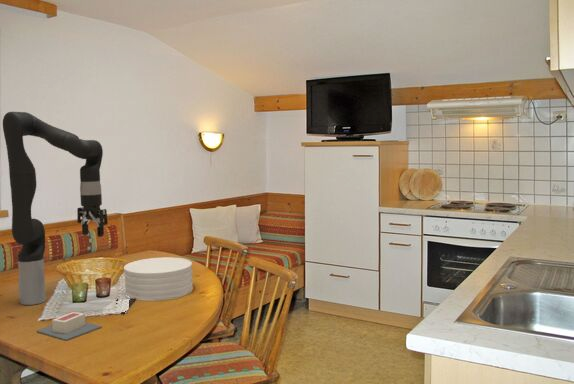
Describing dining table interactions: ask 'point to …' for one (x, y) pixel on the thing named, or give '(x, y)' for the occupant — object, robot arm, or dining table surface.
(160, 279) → the plate stack
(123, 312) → the chocolate bar
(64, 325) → the card box
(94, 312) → the dining table surface
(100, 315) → the dining table surface
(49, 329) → the mat
